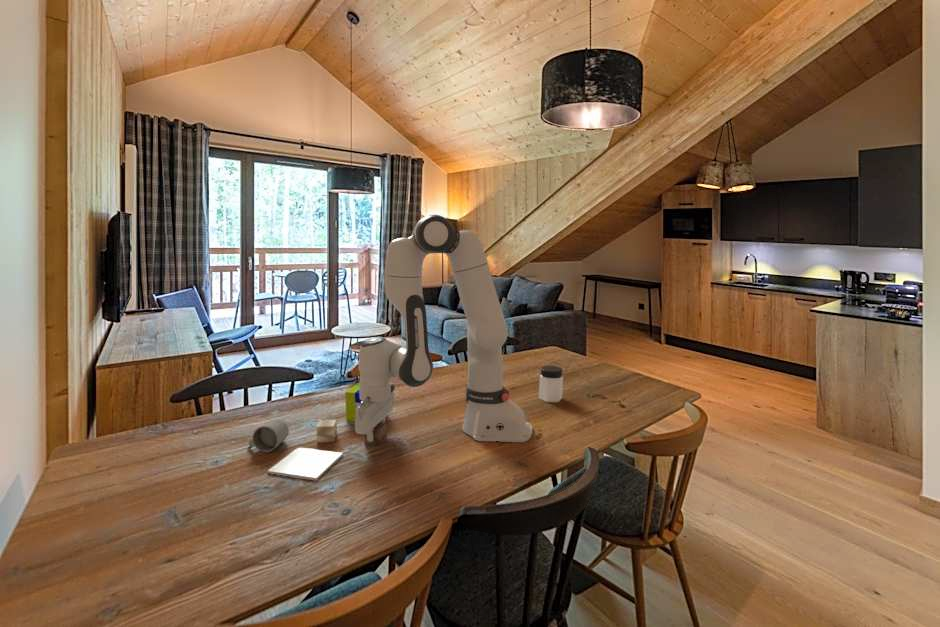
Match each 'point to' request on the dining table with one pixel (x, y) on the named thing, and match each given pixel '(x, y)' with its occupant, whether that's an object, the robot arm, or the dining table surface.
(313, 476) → the white coaster
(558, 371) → the jar
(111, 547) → the dining table surface
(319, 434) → the maple block
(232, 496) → the dining table surface
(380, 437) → the walnut block
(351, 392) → the puzzle toy
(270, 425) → the ceramic mug
